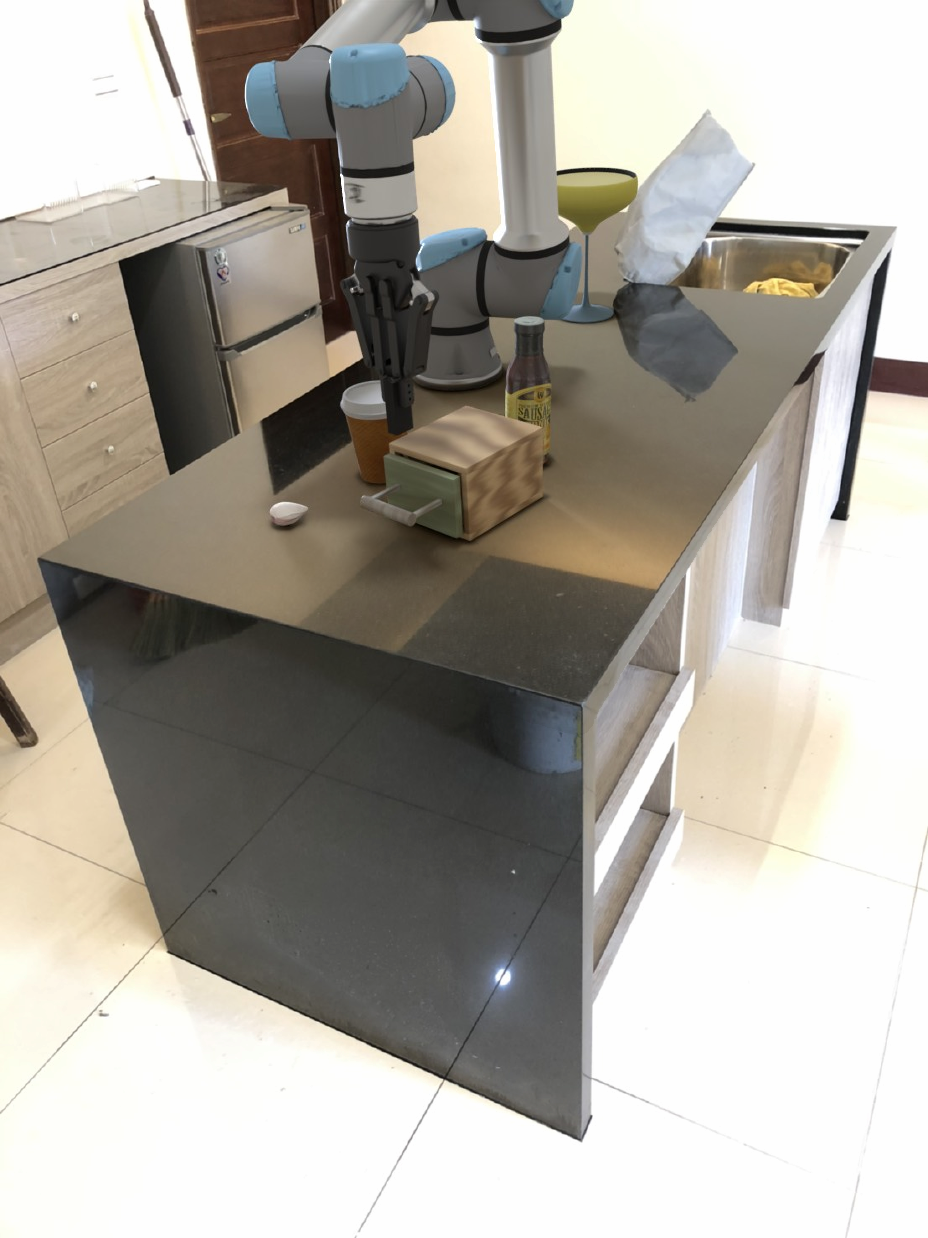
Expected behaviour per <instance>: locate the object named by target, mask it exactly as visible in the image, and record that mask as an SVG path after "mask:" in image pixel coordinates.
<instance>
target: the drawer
mask: <svg viewBox="0 0 928 1238" xmlns="http://www.w3.org/2000/svg"><path fill="white" fill-rule="evenodd" d="M383 457H384V467H385V476H386V483H385V485H386V488H385V489H383V490H381V491H379V492H378V493H375V494H374V495H372V496H369V495H366V494H365V495H363V496H362V497H361V498H360V500H359V506H360V507H361V508H362V509H364V510H367V511H369V512H372V513H374V514H376V515H379V516H382V517H385V518H387V519H390V520H392V521H395V522H397V523H400V524H403V525H406V526H408V527H413V526H414V525H415V524H418V525H421V526H423V527H426V528H429V529H430V530H434V531H436V532H438V533H442V534H444V535H447V536H449V537H452V538H455V539H458V538H460V536H462V535H463V527H462V525H464V518H463V501H462V484H461V473H458V472H455V471H452V470H449V469H446V468H443V467H440V466H437V465H434V464H431V463H428V462H425V461H422V460H419V459H416V458H413V457H410V456H407V455H404V454H403V457H400V456H398V455H395V454H392V453H389V454H387V455H385V456H383ZM386 497H387V502H386V501H383V500H382V499H384V498H386Z"/></svg>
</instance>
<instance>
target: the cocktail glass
mask: <svg viewBox="0 0 928 1238" xmlns="http://www.w3.org/2000/svg"><path fill="white" fill-rule="evenodd" d="M556 171H557V195H558V217H561V218H563V219H565V220H567V221H569V222H570V223H572V224H574V226H575V227H576V228H577V230H578V231H579V232H580V234H582V235H583V236H584V278H583V279H584V281H583V294H582V295H583V296H582V301H581V304H573V307H572V309H571V311H570V312H569V314H568V315H567V316H566V317H565V318H563V319H562V320H563V321H566V322H568V323H575V324H577V323H579V324H591V323H599V322H603V321H606V320H608V319H611V318H612V317H613V316H614V310H613V309H612V308H610V307H608V306H605V305H600V304H591V303H590V296H589V237H590V236H591V235H593V233H594V232H595V231H596V229H597V227H598V226H599V225H600V224H602V222H604V221H605V220H608V219H609V218H611V217H613V216H614V215H616V214H618V213H620V212H621V211H623V210H625V209H626V208H627V207H629V205H631V204H632V203H633V202H634V200H635V199H636V198H637V194H638V190H639V189H638V188H639V179H638V175H637V173H636V172H634V171H632V170H628V169H624V168H617V167H601V166H600V167H597V166H595V167H594V166H593V167H592V166H591V167H589V166H588V167H574V168H566V169H560V170H556Z"/></svg>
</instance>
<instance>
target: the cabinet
mask: <svg viewBox="0 0 928 1238" xmlns="http://www.w3.org/2000/svg"><path fill="white" fill-rule="evenodd" d="M389 449H390V453H392V454H395V455H398V456H400V457H403V454H404V455H407V456H410V457H413V458H416V459H419V460H422V461H425V462H428V463H431V464H434V465H437V466H440V467H443V468H446V469H449V470H452V471H455V472H458V473H461V484H462V501H463V518H464V525H462V527H463V535H462V536H460V537H459V538H460V539H462V540H466V541H468V542H471V541H473V540H474V539H476V538H477V537H479V536H480V535H483V534H484V533H486V532H487V531H489V530H490V529H492V528H494V527H496V526H497V525H500V524H501V523H502V522H504V521H505V520H507V519H509V518H510V517H512V516H514V515H515V514H517V513H518V512H520V511H521V510H523V509H525V508H526V507H528V506H530V505H532V504H533V503H535V502H536V501H538V500H539V499H541V498H543V497H544V467H543V466H544V464H543V443H542V427H540V426H537V425H533V424H530V423H526V422H522V421H519V420H515V419H512V418H508V417H505V416H504V415H501V414H498V413H493V412H490V411H487V410H483V409H479V408H476V407H472V406H468V405H464V406H462V407H461V408H459V409H456V410H454V411H452V412H450V413H448V414H447V415H443V416H442V417H440V418H438V419H436V420H434V421H432V422H430V423H427V424H426V425H423V426H421V427H419V428H417V429H416V430H413V431H410V432H409V433H407V435H405V436H403V437H401V438H399V439H397V440H395V441H393V442H391V443H389Z"/></svg>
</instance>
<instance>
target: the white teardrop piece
mask: <svg viewBox="0 0 928 1238" xmlns="http://www.w3.org/2000/svg"><path fill="white" fill-rule="evenodd" d="M308 510H309V507H307V506H306V505H302V504H300V503H296V502H291V501H282V502H278V503H275V504H274V505H272V507H271V508H270V510H269V514H270V520H271V521H272V523H274V524H275V525H277V526H288V525H289V526H290V525H292V524H294V523H296V522H297V521H298V520H300V519H301V518H302V517H303V516H304V515H305V514H306V512H307V511H308Z"/></svg>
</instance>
